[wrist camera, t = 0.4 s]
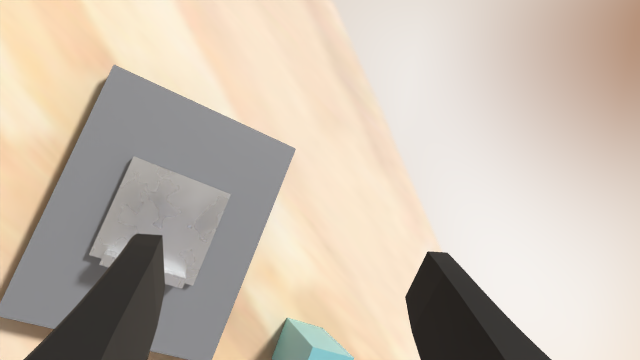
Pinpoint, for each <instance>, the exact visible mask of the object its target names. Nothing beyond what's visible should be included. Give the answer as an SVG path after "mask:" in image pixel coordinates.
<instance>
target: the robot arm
mask: <svg viewBox="0 0 640 360" xmlns="http://www.w3.org/2000/svg"><path fill="white" fill-rule="evenodd" d="M164 291H165V275H164V255H163V235H152V234H135V235H134V236H132V238H131V239H130V240H129V242H128V243H127V245H126V246H125V247H124V249H123V250H122V251H121V253H120V254H119V255H118V257H117V258H116V259H115V260H114V262H113V263H112V264H111V265H110V267H109V268H108V269H107V270H106V272H105V273H104V274H103V275H102V277H101V278H100V279H99V280H98V281H97V282H96V284H95V285H94V286H93V287H92V288H91V289H90V291H89V292H88V293H87V294H86V295H85V296H84V297H83V299H82V300H81V301H80V302H79V303H78V304H77V305H76V307H75V308H74V309H73V310H72V311H71V312H70V313H69V314H68V315H67V316H66V317H65V318H64V319H63V320H62V321H61V322H60V324H59V325H58V326H57V327H56V328H55V329H54V330H53V331H52V332H51V333H50V334H49V335H48V336H47V337H46V338H45V339H44V340H43V341H42V342H41V343H40V344H39V345H38V346H37V347H36V348H35V349H34V350H33V351H32V352H31V353H30V354H29V355H28V356H27V357H26V358H25V359H24V360H147V358H148V355H149V352H150V349H151V345H152V342H153V339H154V336H155V333H156V329H157V326H158V321H159V316H160V312H161V307H162V302H163V296H164ZM405 298H406V303H407V309H408V315H409V320H410V325H411V330H412V333H413V337H414V340H415V343H416V346H417V349H418V353H419V356H420V359H421V360H551V359H550V358H549V357H548V356H547V355H546V354H545V353H544V352H542V351H541V350H540V349H539V348H538V347H537V346H536V345H535V344H534V343H533V342H532V341H531V340H530V339H529V338H528V337H527V336H526V335H525V334H524V333H523V332H522V331H521V330H520V329H519V328H518V327H517V326H516V325H515V324H514V323H513V322H512V321H511V320H510V319H509V318H508V317H507V316H506V315H505V314H504V313H503V312H502V311H501V310H500V309H499V308H498V307H497V305H496V304H495V303H494V302H493V301H492V300H491V299H490V298H489V297H488V296H487V295H486V294H485V293H484V292H483V290H481V288H480V287H479V286H478V285H477V284H476V283H475V282H474V281H473V280H472V278H471V277H470V276H469V275H468V274H467V273H466V272H465V271H464V270H463V269H462V268H461V267H460V265H459V264H458V263H457V262H456V261H455V260H454V259H453V258H452V257H451V256H450V255H449V254H448V253H443V252H427V254H426V256H425V258H424V260H423V262H422V264H421V266H420V268H419V270H418V272H417V274H416V276H415V278H414V280H413V282H412V285H411V287H410V289H409V291H408V293H407V295H406V297H405Z"/></svg>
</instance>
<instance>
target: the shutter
mask: <svg viewBox="0 0 640 360" xmlns="http://www.w3.org/2000/svg"><path fill="white" fill-rule="evenodd" d="M230 195H231V194H229V193H226V192H224V191H221V190H219V189H216V188H214V187H211V186H209V185H206V184H203V183H201V182H198V181H196V180H193V179H191V178H188V177H186V176H183V175H180V174H178V173H175V172H173V171H170V170H168V169H165V168H163V167H160V166H158V165H155V164H152V163H150V162H147V161H145V160H142V159H140V158H137V157H135V156H134V157H133V159H132V161H131V163H130V165H129V168H128V170H127V172H126V174H125V176H124V179H123V181H122V183H121V185H120V187H119V190H118V192H117V194H116V196H115V198H114V201H113V203H112V205H111V207H110V209H109V212H108V214H107V216H106V218H105V220H104V223H103V225H102V227H101V229H100V231H99V234H98V236H97V238H96V240H95V242H94V245H93V247H92V249H91V251H90V253H89V255H91V256H94V257H98V258H101V262H100V264H99V265H102V266H105V267H110V265H111V264H112V263H113V262H114V260H115V259H116V258H117V257H118V255H119V254H120V253H121V251H122V250H123V249H124V247H125V246H126V245H127V243H128V242H129V240H130V239H131V238H132V236H134V235H135V234H152V235H163V255H164V275H165V284H167V285H171V286H174V287H178V288H181V289H182V288H183V286H184V283H186V284H189V285H192V286H193V284H194V282H195V280H196V277H197V275H198V272H199V270H200V268H201V265H202V263H203V260H204V258H205V256H206V253H207V251H208V248H209V246H210V244H211V241H212V239H213V236H214V234H215V231H216V229H217V227H218V224H219V222H220V219H221V217H222V215H223V212H224V210H225V207H226V205H227V203H228V200H229V198H230Z"/></svg>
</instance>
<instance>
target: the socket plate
mask: <svg viewBox="0 0 640 360" xmlns="http://www.w3.org/2000/svg"><path fill="white" fill-rule="evenodd" d="M295 150H296V149H295V148H293V147H291V146H289V145H287V144H285V143H282V142H280V141H278V140H276V139H274V138H272V137H269V136H267V135H265V134H263V133H261V132H259V131H256V130H254V129H252V128H250V127H248V126H246V125H243V124H241V123H239V122H237V121H235V120H233V119H231V118H228V117H226V116H224V115H222V114H220V113H218V112H215V111H213V110H211V109H209V108H207V107H205V106H202V105H200V104H198V103H196V102H194V101H192V100H189V99H187V98H185V97H183V96H181V95H179V94H176V93H174V92H172V91H170V90H168V89H166V88H164V87H161V86H159V85H157V84H155V83H153V82H151V81H148V80H146V79H144V78H142V77H140V76H138V75H135V74H133V73H131V72H129V71H127V70H125V69H122V68H120V67H118V66H116V65H113V67H112V69H111V72H110V74H109V76H108V78H107V80H106V82H105V84H104V86H103V88H102V90H101V93H100V95H99V97H98V99H97V101H96V103H95V105H94V107H93V109H92V111H91V114H90V116H89V118H88V120H87V122H86V124H85V126H84V128H83V130H82V132H81V135H80V137H79V139H78V141H77V143H76V145H75V147H74V149H73V151H72V153H71V156H70V158H69V160H68V162H67V164H66V166H65V168H64V170H63V172H62V174H61V176H60V179H59V181H58V183H57V185H56V187H55V189H54V191H53V193H52V195H51V197H50V200H49V202H48V204H47V206H46V208H45V210H44V212H43V214H42V216H41V218H40V221H39V223H38V225H37V227H36V229H35V231H34V233H33V235H32V237H31V239H30V242H29V244H28V246H27V248H26V250H25V252H24V254H23V256H22V258H21V260H20V263H19V265H18V267H17V269H16V271H15V273H14V275H13V277H12V279H11V281H10V284H9V286H8V288H7V290H6V292H5V294H4V296H3V298H2V300H1V302H0V317H3V318H7V319H12V320H16V321H21V322H25V323H29V324H34V325H38V326H43V327H47V328H51V329H55V328H56V327H57V326H58V325H59V324H60V322H61V321H62V320H63V319H64V318H65V317H66V316H67V315H68V314H69V313H70V312H71V311H72V310H73V309H74V308H75V307H76V305H77V304H78V303H79V302H80V301H81V300H82V299H83V297H84V296H85V295H86V294H87V293H88V292H89V291H90V289H91V288H92V287H93V286H94V285H95V284H96V282H97V281H98V280H99V279H100V278H101V277H102V275H103V274H104V273H105V272H106V270H107V269H108V268H109V267H105V266H102V265H99V264H100V262H101V258H98V257H94V256H91V255H89V253H90V251H91V249H92V247H93V245H94V242H95V240H96V238H97V236H98V234H99V231H100V229H101V227H102V225H103V223H104V220H105V218H106V216H107V214H108V212H109V209H110V207H111V205H112V203H113V201H114V198H115V196H116V194H117V192H118V190H119V187H120V185H121V183H122V181H123V179H124V176H125V174H126V172H127V170H128V168H129V165H130V163H131V161H132V159H133V157H134V156H135V157H137V158H140V159H142V160H145V161H147V162H150V163H152V164H155V165H158V166H160V167H163V168H165V169H168V170H170V171H173V172H175V173H178V174H180V175H183V176H186V177H188V178H191V179H193V180H196V181H198V182H201V183H203V184H206V185H209V186H211V187H214V188H216V189H219V190H221V191H224V192H226V193H229V194H231V195H230V198H229V200H228V203H227V205H226V207H225V210H224V212H223V215H222V217H221V219H220V222H219V224H218V227H217V229H216V231H215V234H214V236H213V239H212V241H211V244H210V246H209V248H208V251H207V253H206V256H205V258H204V260H203V263H202V265H201V268H200V270H199V272H198V275H197V277H196V280H195V282H194V284H193V286H192V285H189V284H186V283H184V286H183V288H182V289H181V288H178V287H174V286H171V285H167V284H165V291H164V296H163V302H162V307H161V312H160V316H159V321H158V326H157V329H156V333H155V336H154V339H153V342H152V345H151V349H150V351H152V352H157V353H161V354H165V355H170V356H174V357H179V358H183V359H187V360H212V358H213V355H214V353H215V350H216V348H217V345H218V343H219V340H220V338H221V335H222V333H223V330H224V328H225V325H226V323H227V320H228V318H229V315H230V313H231V310H232V308H233V305H234V303H235V300H236V298H237V295H238V293H239V290H240V288H241V285H242V283H243V280H244V278H245V275H246V273H247V270H248V268H249V265H250V263H251V260H252V257H253V255H254V252H255V250H256V247H257V245H258V242H259V240H260V237H261V235H262V232H263V230H264V227H265V225H266V222H267V220H268V217H269V215H270V212H271V210H272V207H273V205H274V202H275V200H276V197H277V195H278V192H279V190H280V187H281V185H282V182H283V180H284V177H285V175H286V172H287V170H288V167H289V165H290V162H291V160H292V157H293V155H294V152H295Z"/></svg>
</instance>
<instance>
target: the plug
mask: <svg viewBox="0 0 640 360" xmlns="http://www.w3.org/2000/svg"><path fill="white" fill-rule="evenodd" d="M272 360H354V357H353V356H351V355H350V354H349V353H348V352H347V351H346V350H345V349H344V348H343V347H342V346H341V345H340V344H339V343H338V342H337V341H336V340H335V339H334V338H332V337H331V336H330V335H329V334H328V333H327V332H326V331H325V330H324V329H323V328H321V327H317V326H314V325H311V324H307V323H304V322H300V321H297V320H293V319H290V318H287V319H286V322H285V324H284V327H283V330H282V332H281V335H280V337H279V340H278V343H277V345H276V348H275V351H274V353H273V356H272Z"/></svg>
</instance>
